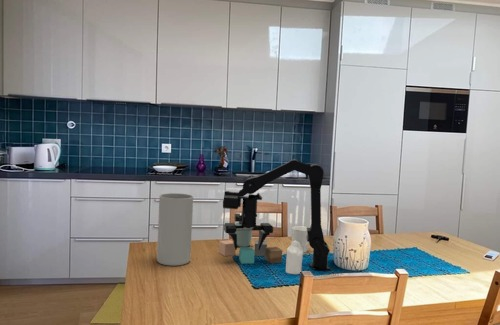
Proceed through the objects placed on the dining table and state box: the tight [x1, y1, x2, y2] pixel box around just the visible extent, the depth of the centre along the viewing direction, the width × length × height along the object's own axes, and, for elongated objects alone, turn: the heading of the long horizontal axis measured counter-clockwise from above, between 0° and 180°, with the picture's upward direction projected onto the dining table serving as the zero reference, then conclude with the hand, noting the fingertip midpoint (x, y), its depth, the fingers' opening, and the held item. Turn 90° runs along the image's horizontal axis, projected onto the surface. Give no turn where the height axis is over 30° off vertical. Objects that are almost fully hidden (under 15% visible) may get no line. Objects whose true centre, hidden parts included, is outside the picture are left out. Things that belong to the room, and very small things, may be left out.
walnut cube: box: [264, 246, 283, 264], centre depth 158 cm, size 5×5×5 cm
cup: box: [234, 222, 253, 248], centre depth 176 cm, size 8×8×10 cm
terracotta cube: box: [218, 239, 236, 257], centre depth 164 cm, size 5×5×5 cm
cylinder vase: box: [156, 192, 194, 267], centre depth 150 cm, size 12×12×25 cm
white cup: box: [291, 225, 310, 254], centre depth 174 cm, size 8×8×10 cm
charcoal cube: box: [254, 240, 268, 257], centre depth 166 cm, size 5×5×5 cm
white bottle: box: [285, 241, 304, 275], centre depth 146 cm, size 6×12×6 cm
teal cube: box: [238, 246, 255, 265], centre depth 156 cm, size 5×5×5 cm
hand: (247, 249), depth 155 cm, fingers open, 9 cm apart
